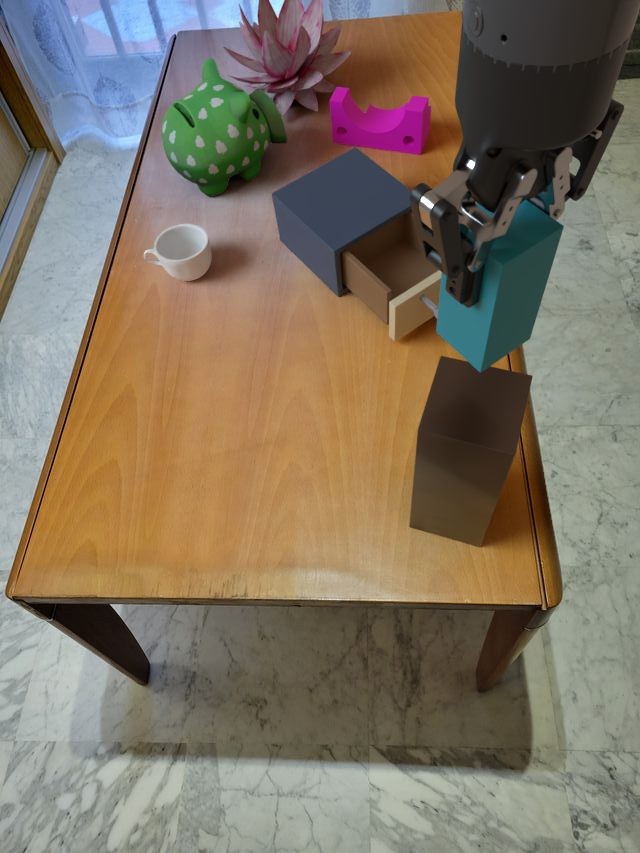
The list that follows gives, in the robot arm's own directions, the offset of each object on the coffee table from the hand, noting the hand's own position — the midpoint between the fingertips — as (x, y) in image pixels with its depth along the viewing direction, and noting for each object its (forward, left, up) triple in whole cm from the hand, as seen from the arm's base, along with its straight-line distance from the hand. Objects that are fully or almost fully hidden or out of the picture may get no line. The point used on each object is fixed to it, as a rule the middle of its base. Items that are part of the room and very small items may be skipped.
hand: (494, 276), depth 43 cm
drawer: (+12, -27, -34) cm, 45 cm away
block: (0, 0, -6) cm, 6 cm away
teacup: (+46, -24, -35) cm, 63 cm away
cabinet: (+24, -35, -35) cm, 55 cm away
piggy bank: (+48, -46, -35) cm, 75 cm away
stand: (-1, +2, -35) cm, 35 cm away
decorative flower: (+45, -68, -35) cm, 89 cm away
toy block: (+26, -60, -35) cm, 74 cm away
